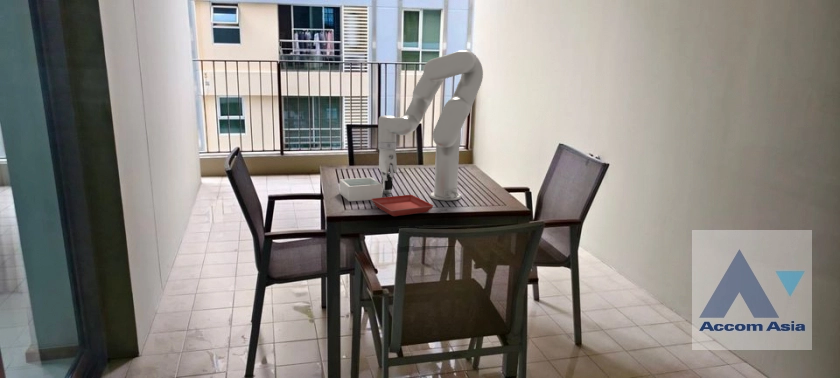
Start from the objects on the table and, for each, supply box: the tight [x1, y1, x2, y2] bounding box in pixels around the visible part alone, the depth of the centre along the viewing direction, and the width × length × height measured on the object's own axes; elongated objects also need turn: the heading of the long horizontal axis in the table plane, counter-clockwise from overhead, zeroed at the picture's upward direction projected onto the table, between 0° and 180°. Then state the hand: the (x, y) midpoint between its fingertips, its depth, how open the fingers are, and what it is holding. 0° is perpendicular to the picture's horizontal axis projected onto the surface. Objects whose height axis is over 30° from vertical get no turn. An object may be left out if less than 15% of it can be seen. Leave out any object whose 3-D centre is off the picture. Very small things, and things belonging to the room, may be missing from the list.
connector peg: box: [382, 174, 392, 195], centre depth 241 cm, size 4×4×8 cm
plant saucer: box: [370, 194, 434, 217], centre depth 217 cm, size 18×18×3 cm
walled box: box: [339, 176, 383, 202], centre depth 235 cm, size 14×14×6 cm
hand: (386, 188), depth 242 cm, fingers closed on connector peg, 3 cm apart
